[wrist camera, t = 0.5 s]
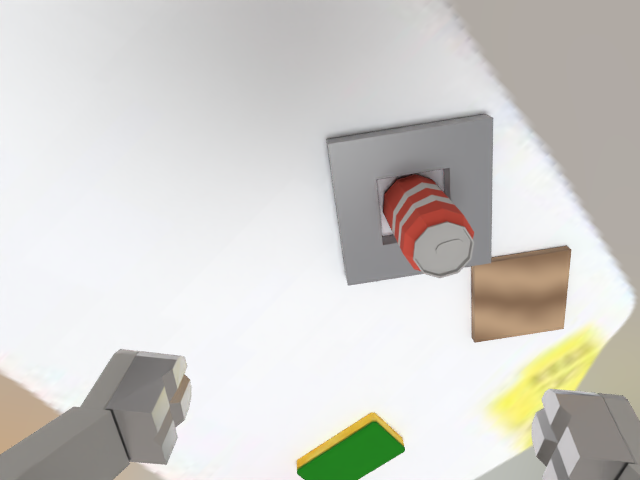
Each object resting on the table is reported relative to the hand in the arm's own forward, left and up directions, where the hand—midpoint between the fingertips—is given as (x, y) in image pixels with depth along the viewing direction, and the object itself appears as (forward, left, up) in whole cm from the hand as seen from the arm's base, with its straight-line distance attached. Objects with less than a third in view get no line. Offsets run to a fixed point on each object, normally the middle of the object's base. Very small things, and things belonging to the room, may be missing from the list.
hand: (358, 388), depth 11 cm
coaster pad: (+25, +21, -38) cm, 51 cm away
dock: (+11, +9, -38) cm, 41 cm away
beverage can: (+11, +9, -38) cm, 41 cm away
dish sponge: (+47, -2, -39) cm, 61 cm away
